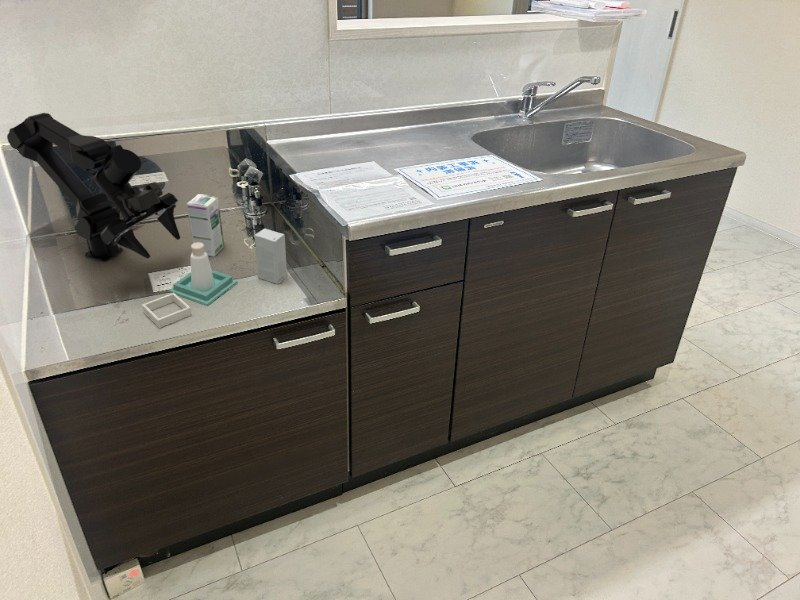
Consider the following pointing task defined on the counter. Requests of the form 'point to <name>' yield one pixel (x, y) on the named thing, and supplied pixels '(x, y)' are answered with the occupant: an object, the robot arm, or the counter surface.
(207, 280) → the pepper shaker
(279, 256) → the skincare box
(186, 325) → the counter surface
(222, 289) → the teal square tray
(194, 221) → the syrup box
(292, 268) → the counter surface
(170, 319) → the white square tray
